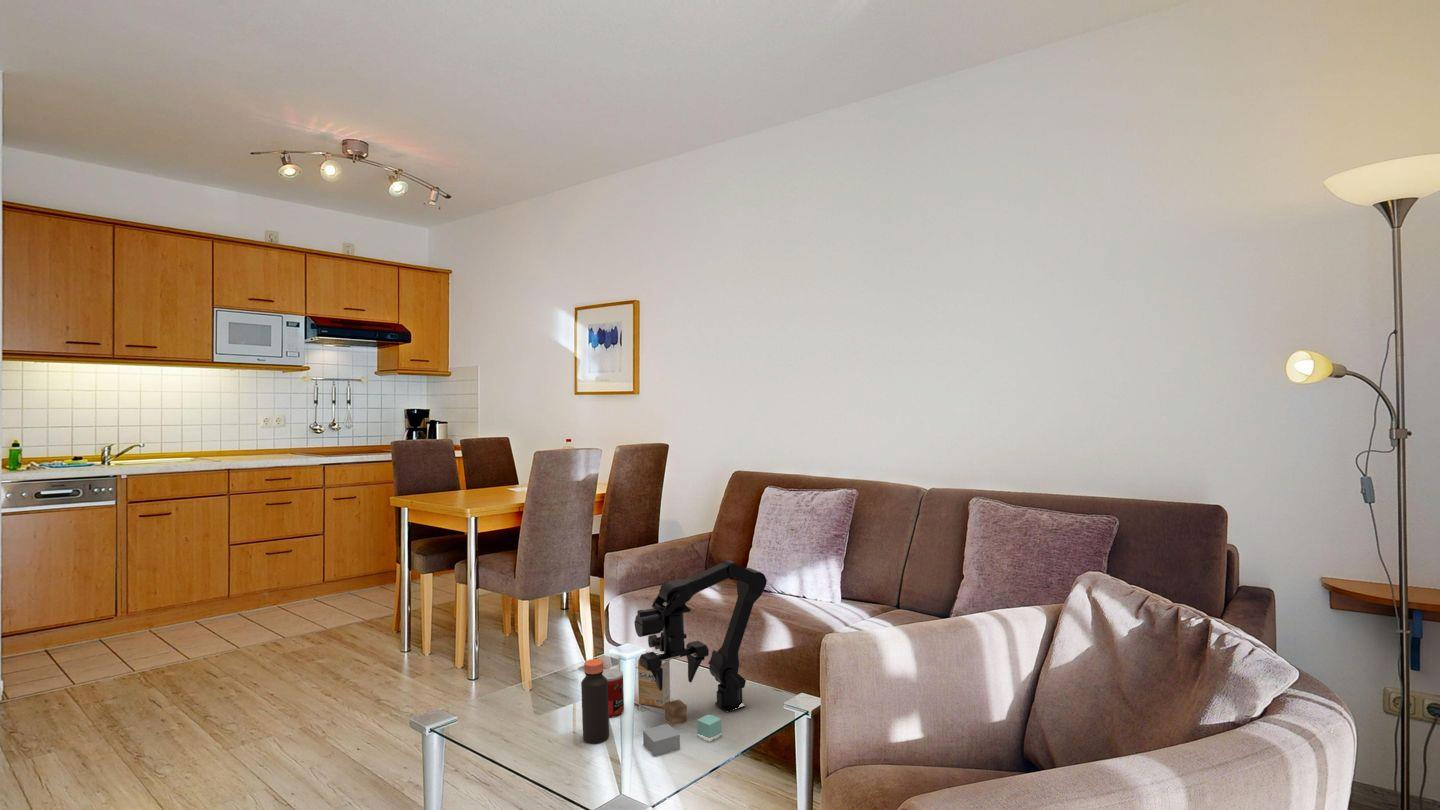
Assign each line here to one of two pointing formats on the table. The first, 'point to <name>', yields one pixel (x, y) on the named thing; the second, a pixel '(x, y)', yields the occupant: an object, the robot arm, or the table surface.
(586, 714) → the bottle
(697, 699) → the table surface
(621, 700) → the canned food
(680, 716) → the walnut cube
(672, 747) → the slate block
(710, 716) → the teal cube
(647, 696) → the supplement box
